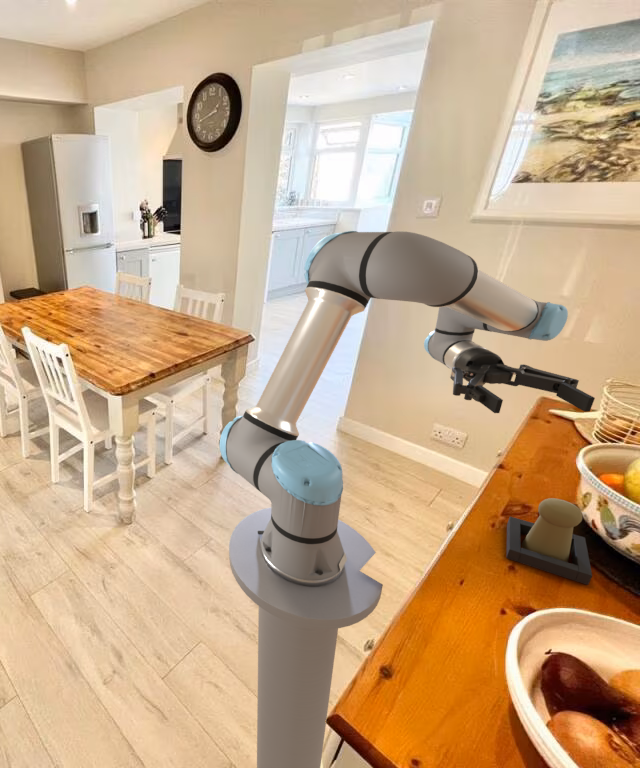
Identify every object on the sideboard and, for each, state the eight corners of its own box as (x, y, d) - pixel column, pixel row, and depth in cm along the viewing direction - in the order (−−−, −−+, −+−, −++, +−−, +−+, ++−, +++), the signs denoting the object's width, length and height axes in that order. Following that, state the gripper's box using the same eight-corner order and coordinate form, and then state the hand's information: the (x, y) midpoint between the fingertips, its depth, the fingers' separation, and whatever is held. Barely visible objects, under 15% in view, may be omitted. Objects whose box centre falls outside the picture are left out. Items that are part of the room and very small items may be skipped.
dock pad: (506, 558, 72) (509, 549, 72) (507, 524, 79) (509, 516, 78) (588, 585, 66) (592, 575, 65) (581, 546, 73) (585, 537, 72)
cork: (516, 551, 73) (533, 504, 69) (526, 534, 76) (543, 488, 72) (563, 571, 69) (584, 522, 64) (572, 553, 72) (592, 504, 67)
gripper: (534, 375, 89) (622, 422, 70) (408, 380, 95) (458, 425, 76) (543, 343, 86) (638, 384, 67) (413, 350, 92) (467, 389, 73)
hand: (543, 405), depth 71 cm, fingers open, 13 cm apart
